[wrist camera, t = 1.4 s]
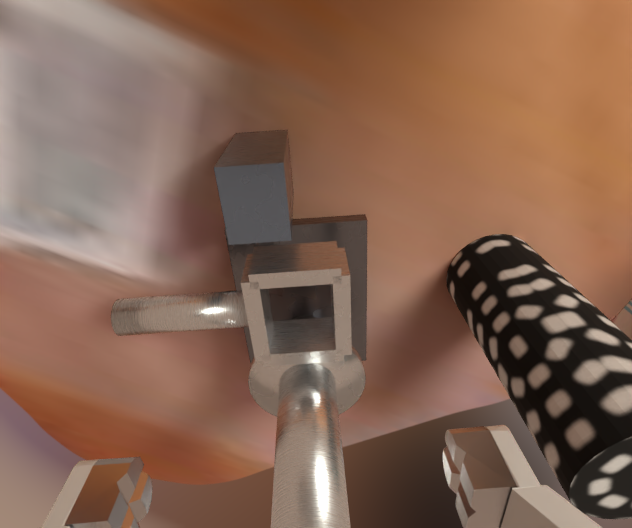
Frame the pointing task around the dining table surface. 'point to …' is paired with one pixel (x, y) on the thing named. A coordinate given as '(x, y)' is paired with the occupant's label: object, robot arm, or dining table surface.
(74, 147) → the dining table surface
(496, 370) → the spotted tube
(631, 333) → the cake mix box
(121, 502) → the robot arm
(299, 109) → the dining table surface
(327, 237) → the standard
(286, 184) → the brushed metal block
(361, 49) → the dining table surface
